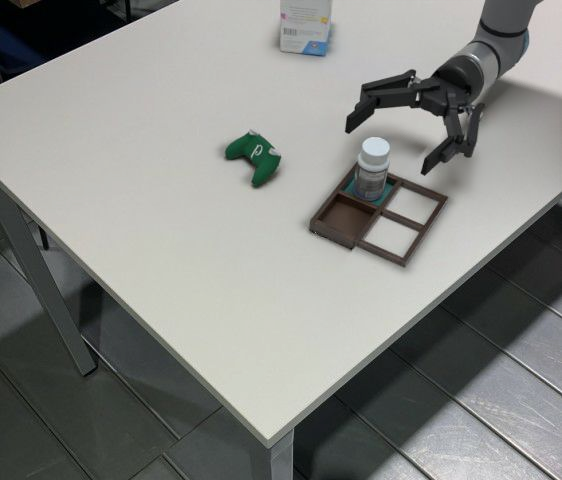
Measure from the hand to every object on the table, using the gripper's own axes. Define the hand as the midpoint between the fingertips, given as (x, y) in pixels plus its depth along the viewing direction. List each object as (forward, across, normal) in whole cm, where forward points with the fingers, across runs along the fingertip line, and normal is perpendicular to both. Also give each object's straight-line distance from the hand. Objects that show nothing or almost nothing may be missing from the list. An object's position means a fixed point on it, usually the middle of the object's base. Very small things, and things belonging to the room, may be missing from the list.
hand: (385, 146), depth 89 cm
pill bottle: (+2, 0, -8) cm, 8 cm away
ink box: (-23, +33, -8) cm, 42 cm away
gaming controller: (+8, +18, -8) cm, 21 cm away
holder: (+5, -4, -8) cm, 10 cm away
